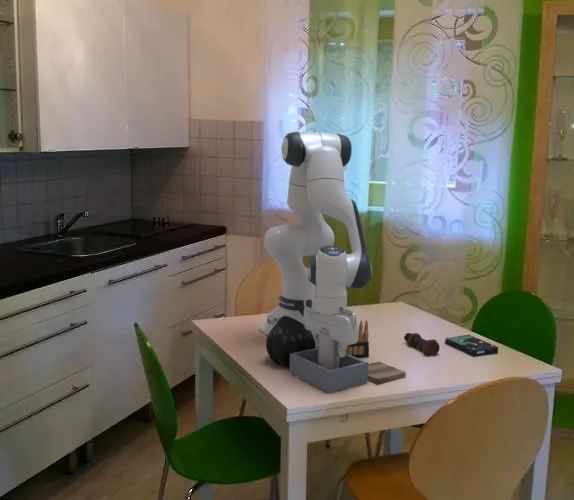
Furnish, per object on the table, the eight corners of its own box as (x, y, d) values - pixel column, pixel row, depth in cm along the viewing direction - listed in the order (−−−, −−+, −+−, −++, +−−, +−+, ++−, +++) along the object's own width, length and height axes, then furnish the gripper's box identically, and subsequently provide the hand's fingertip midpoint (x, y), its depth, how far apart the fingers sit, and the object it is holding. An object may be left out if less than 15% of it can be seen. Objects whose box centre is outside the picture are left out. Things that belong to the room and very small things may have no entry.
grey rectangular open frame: (289, 373, 196) (289, 353, 195) (326, 364, 205) (327, 345, 204) (329, 393, 182) (329, 371, 181) (367, 382, 190) (368, 362, 189)
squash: (322, 354, 197) (313, 308, 205) (272, 358, 194) (265, 312, 202) (313, 372, 209) (305, 328, 217) (266, 377, 206) (259, 332, 214)
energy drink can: (320, 373, 197) (322, 323, 195) (340, 376, 195) (342, 326, 193) (314, 380, 191) (316, 329, 189) (335, 383, 190) (337, 331, 187)
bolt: (409, 347, 229) (434, 360, 215) (398, 341, 227) (422, 353, 214) (417, 332, 230) (442, 343, 216) (406, 326, 228) (431, 337, 214)
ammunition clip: (337, 360, 209) (338, 322, 207) (334, 358, 211) (336, 320, 209) (368, 357, 212) (370, 320, 210) (366, 355, 214) (368, 318, 212)
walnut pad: (351, 373, 198) (351, 368, 198) (378, 366, 204) (379, 361, 204) (377, 384, 189) (377, 379, 189) (405, 377, 196) (405, 372, 195)
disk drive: (498, 355, 219) (468, 341, 232) (499, 347, 219) (468, 333, 232) (473, 359, 215) (443, 345, 228) (473, 350, 214) (444, 337, 228)
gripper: (364, 310, 183) (363, 359, 185) (317, 296, 199) (316, 341, 201) (347, 313, 179) (345, 364, 182) (300, 299, 196) (299, 345, 198)
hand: (329, 352), depth 192 cm, fingers open, 8 cm apart
